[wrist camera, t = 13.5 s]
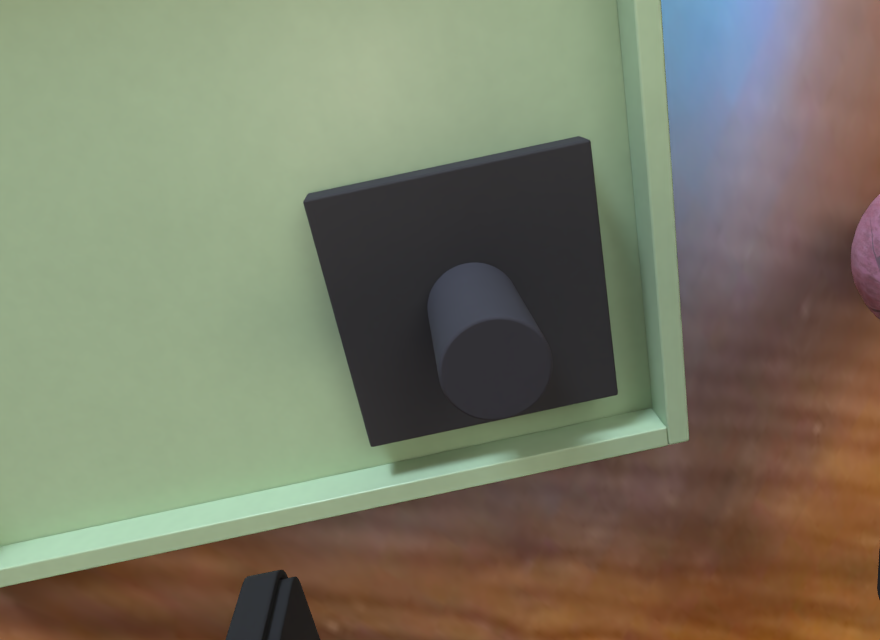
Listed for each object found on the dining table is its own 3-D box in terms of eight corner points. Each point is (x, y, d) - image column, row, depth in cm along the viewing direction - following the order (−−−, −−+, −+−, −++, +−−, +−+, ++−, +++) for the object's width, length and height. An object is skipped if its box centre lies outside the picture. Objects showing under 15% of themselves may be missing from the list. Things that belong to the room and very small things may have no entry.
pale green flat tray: (608, -365, 17) (635, -417, 15) (668, 414, 26) (690, 441, 24) (-431, -144, 17) (-531, -170, 15) (-22, 561, 26) (-53, 599, 24)
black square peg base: (580, 135, 21) (653, 160, 15) (608, 380, 24) (676, 477, 19) (306, 193, 21) (276, 240, 15) (371, 431, 24) (367, 543, 19)
